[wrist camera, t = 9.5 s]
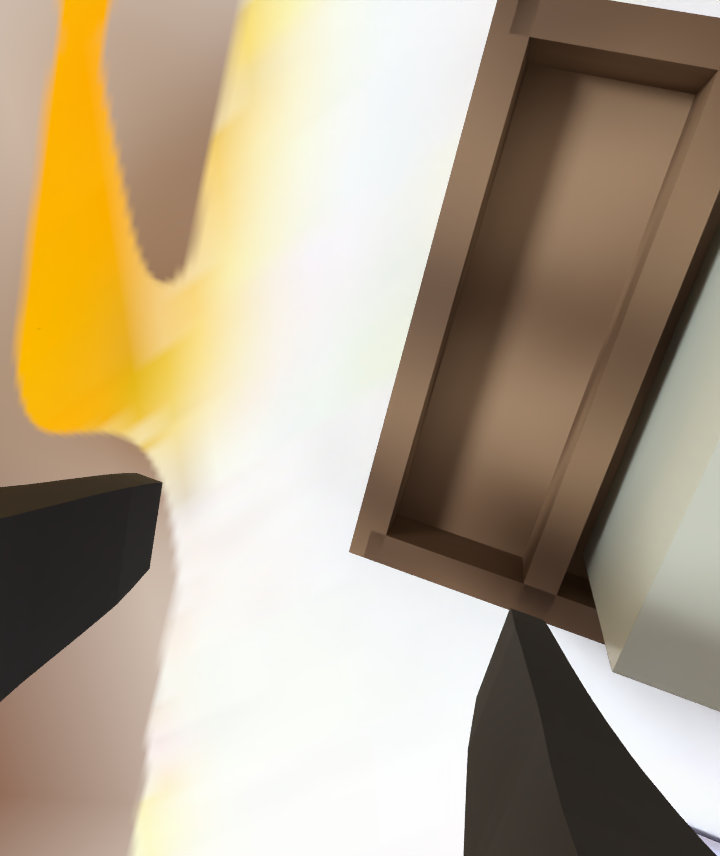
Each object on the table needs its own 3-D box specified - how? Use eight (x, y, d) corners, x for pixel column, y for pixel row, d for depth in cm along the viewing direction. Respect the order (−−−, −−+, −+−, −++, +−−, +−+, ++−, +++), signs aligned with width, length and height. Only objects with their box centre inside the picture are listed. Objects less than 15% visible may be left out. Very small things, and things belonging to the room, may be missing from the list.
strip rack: (889, 705, 18) (944, 767, 15) (367, 523, 21) (348, 552, 19) (1247, 154, 13) (1400, 126, 11) (504, 25, 16) (501, -17, 14)
